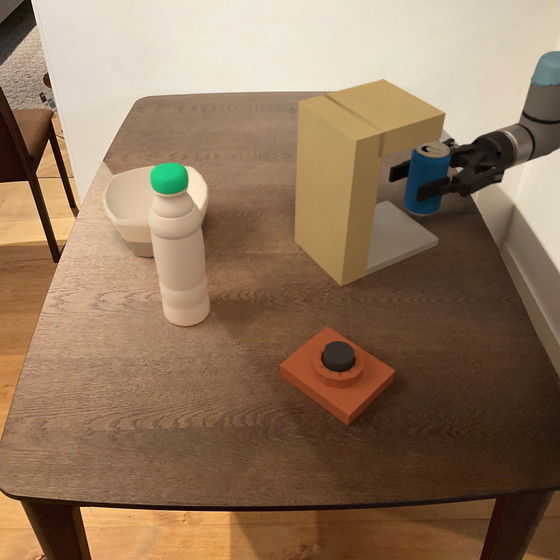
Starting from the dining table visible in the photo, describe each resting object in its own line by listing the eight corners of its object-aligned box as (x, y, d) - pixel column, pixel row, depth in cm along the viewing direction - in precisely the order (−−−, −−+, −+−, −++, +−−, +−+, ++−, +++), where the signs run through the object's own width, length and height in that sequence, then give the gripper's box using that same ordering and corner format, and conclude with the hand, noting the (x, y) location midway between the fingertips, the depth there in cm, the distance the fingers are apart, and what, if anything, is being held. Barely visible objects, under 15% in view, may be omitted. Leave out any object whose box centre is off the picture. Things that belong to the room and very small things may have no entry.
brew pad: (393, 381, 79) (397, 361, 76) (347, 426, 73) (350, 407, 71) (325, 336, 85) (327, 317, 82) (279, 374, 80) (279, 355, 77)
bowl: (112, 275, 95) (101, 229, 89) (111, 214, 108) (101, 170, 101) (220, 260, 98) (216, 214, 92) (206, 202, 111) (202, 159, 105)
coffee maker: (437, 245, 102) (471, 105, 84) (340, 286, 93) (356, 140, 76) (386, 206, 110) (407, 72, 93) (294, 241, 102) (298, 100, 85)
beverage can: (408, 194, 108) (419, 136, 100) (442, 203, 106) (456, 144, 98) (397, 212, 103) (408, 152, 96) (433, 222, 101) (447, 161, 93)
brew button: (359, 360, 77) (360, 351, 76) (340, 377, 75) (341, 368, 74) (335, 344, 79) (336, 336, 78) (316, 361, 77) (317, 352, 76)
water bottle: (214, 298, 91) (201, 156, 74) (205, 330, 86) (190, 186, 69) (170, 294, 91) (148, 153, 75) (159, 326, 86) (132, 182, 70)
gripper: (535, 192, 104) (439, 231, 95) (457, 146, 116) (366, 177, 107) (548, 155, 99) (449, 192, 90) (466, 111, 111) (371, 140, 102)
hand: (404, 184), depth 98 cm, fingers closed on beverage can, 6 cm apart
